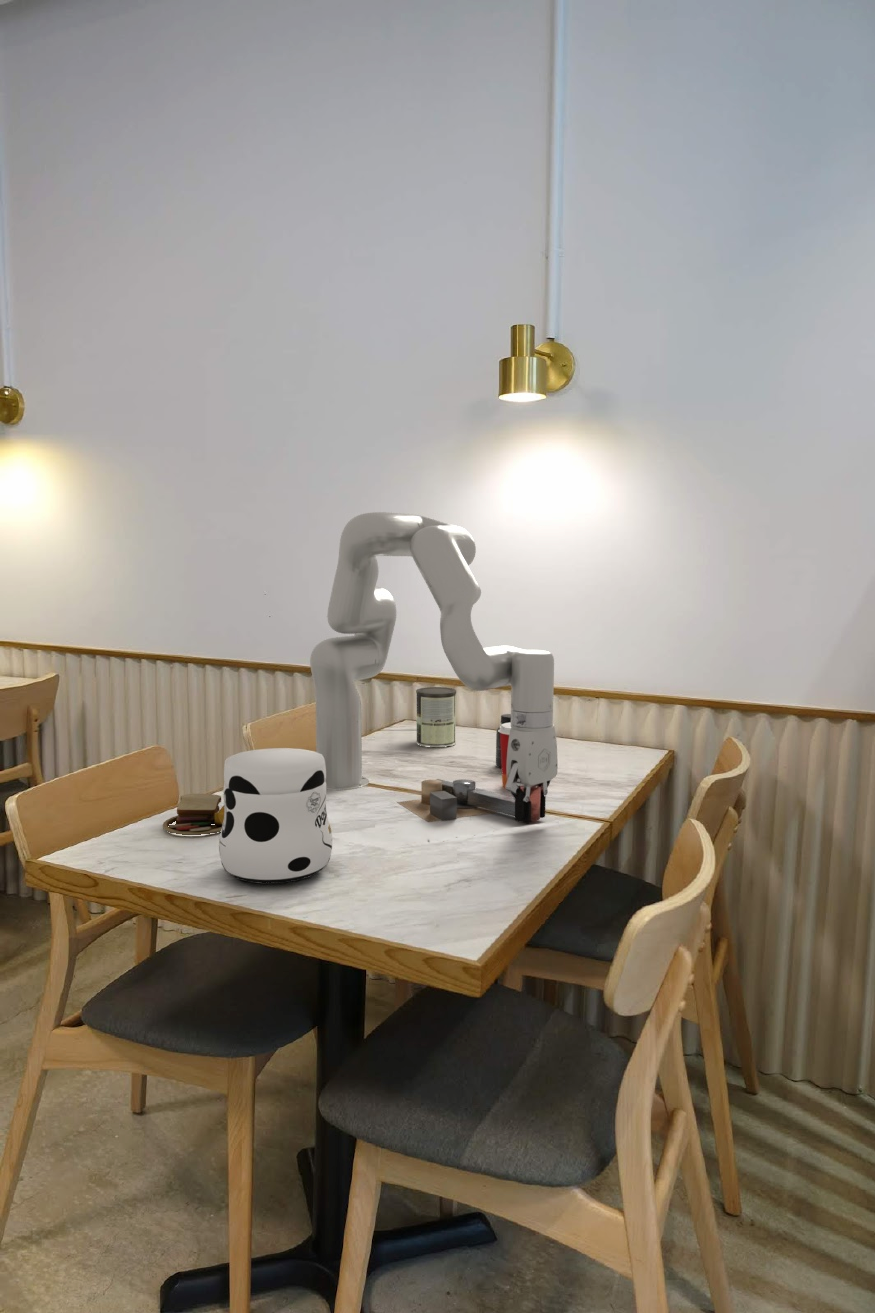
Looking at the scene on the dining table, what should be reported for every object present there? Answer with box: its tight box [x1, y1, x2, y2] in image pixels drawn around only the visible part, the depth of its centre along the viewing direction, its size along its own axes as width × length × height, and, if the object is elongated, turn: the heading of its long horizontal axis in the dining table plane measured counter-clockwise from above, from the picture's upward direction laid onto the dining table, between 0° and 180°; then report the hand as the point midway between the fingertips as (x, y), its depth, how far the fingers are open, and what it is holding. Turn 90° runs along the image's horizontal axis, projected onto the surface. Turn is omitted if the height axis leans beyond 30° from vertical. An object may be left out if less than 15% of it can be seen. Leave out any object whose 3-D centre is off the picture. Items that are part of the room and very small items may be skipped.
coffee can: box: [415, 686, 457, 748], centre depth 231 cm, size 10×10×14 cm
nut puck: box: [420, 779, 442, 805], centre depth 174 cm, size 4×4×4 cm
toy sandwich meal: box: [162, 793, 224, 835], centre depth 162 cm, size 12×14×5 cm
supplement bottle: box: [495, 713, 511, 769], centre depth 207 cm, size 7×7×12 cm
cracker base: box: [396, 791, 497, 823], centre depth 171 cm, size 16×14×5 cm
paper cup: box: [498, 722, 521, 790], centre depth 186 cm, size 8×8×14 cm
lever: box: [435, 778, 541, 822], centre depth 169 cm, size 26×4×6 cm, turn 47°
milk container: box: [218, 747, 333, 884], centre depth 139 cm, size 17×17×18 cm
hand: (530, 817), depth 162 cm, fingers closed on lever, 3 cm apart
